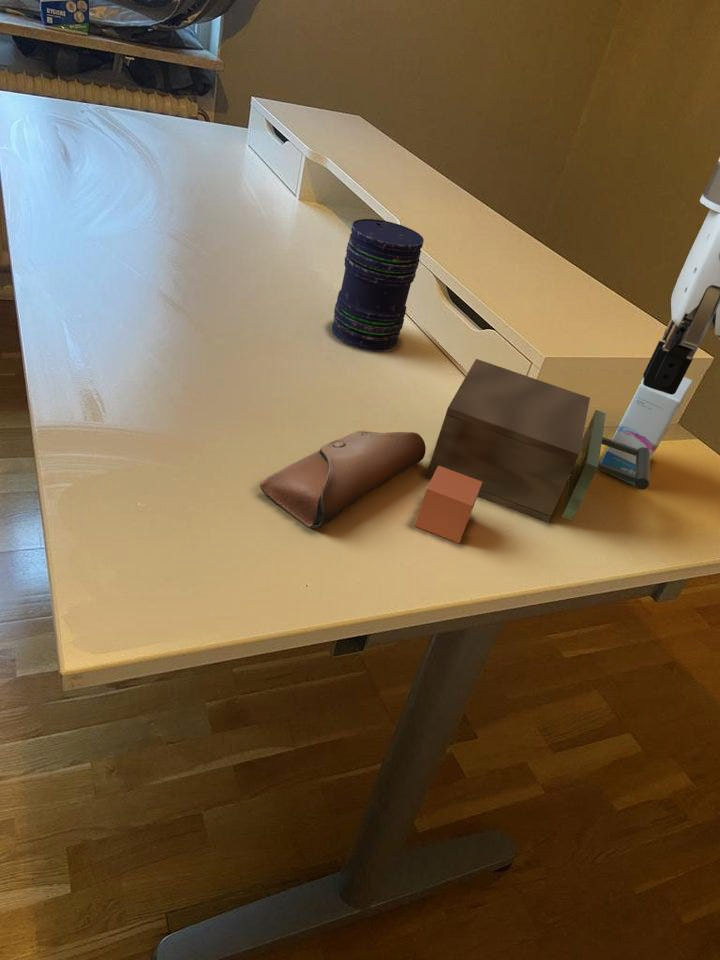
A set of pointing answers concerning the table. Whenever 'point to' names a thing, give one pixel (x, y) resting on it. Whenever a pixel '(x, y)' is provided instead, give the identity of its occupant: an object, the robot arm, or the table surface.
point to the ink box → (644, 424)
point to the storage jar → (376, 284)
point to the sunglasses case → (342, 474)
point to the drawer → (601, 465)
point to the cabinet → (512, 437)
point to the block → (448, 504)
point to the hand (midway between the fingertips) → (658, 385)
